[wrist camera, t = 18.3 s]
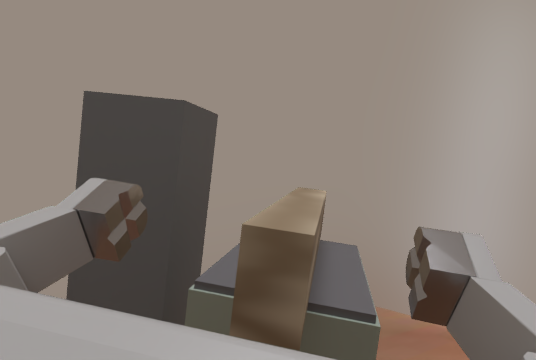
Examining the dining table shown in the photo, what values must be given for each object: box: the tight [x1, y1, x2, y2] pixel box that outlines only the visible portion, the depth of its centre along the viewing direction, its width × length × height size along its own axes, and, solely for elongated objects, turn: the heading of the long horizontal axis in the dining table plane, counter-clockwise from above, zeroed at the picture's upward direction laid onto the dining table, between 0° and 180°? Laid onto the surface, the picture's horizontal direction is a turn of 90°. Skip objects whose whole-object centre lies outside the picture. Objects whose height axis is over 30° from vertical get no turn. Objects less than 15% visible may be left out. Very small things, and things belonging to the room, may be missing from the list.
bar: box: [229, 187, 326, 350], centre depth 22 cm, size 2×20×4 cm, turn 170°
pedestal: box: [66, 91, 218, 326], centre depth 33 cm, size 9×8×30 cm
